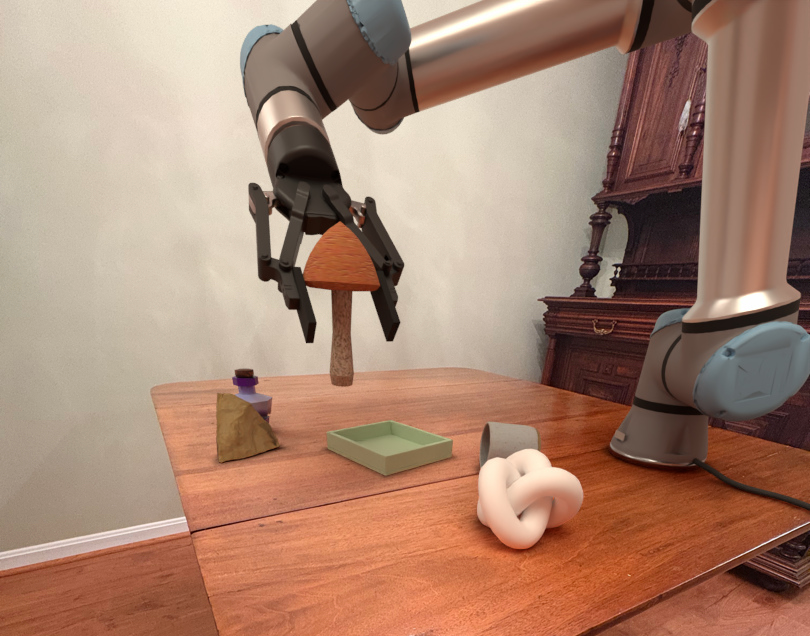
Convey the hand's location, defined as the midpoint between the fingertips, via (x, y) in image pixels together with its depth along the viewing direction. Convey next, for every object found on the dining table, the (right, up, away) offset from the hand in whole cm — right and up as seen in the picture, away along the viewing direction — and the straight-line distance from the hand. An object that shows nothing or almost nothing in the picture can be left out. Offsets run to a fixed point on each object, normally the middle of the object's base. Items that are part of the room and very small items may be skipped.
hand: (353, 332), depth 42 cm
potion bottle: (-24, -1, +39) cm, 46 cm away
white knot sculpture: (+18, -20, +8) cm, 28 cm away
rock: (-21, -6, +30) cm, 37 cm away
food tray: (+2, -6, +32) cm, 32 cm away
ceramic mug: (+21, -9, +26) cm, 35 cm away
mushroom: (-2, -4, +6) cm, 7 cm away
